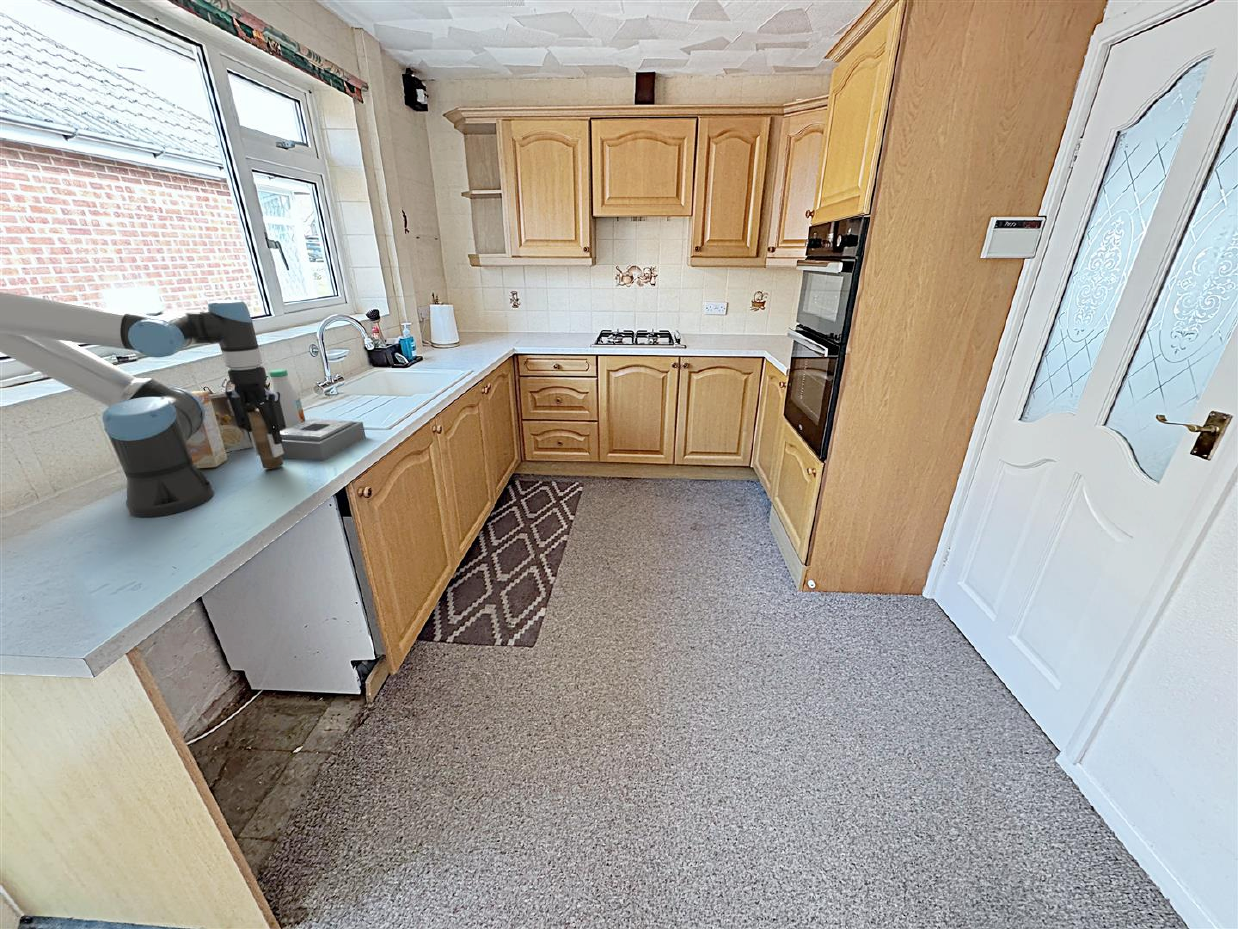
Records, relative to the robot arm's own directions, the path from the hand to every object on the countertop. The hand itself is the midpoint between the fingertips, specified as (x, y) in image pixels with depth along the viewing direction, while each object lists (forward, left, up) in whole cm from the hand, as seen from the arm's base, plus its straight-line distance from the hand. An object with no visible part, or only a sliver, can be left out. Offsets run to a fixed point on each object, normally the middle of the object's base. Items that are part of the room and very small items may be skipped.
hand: (269, 454), depth 132 cm
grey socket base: (+17, -1, -4) cm, 17 cm away
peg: (0, 0, -3) cm, 3 cm away
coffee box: (+11, +23, -4) cm, 26 cm away
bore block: (+17, -1, -4) cm, 17 cm away
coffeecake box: (-3, +23, -4) cm, 23 cm away
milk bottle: (+26, +16, -4) cm, 31 cm away
